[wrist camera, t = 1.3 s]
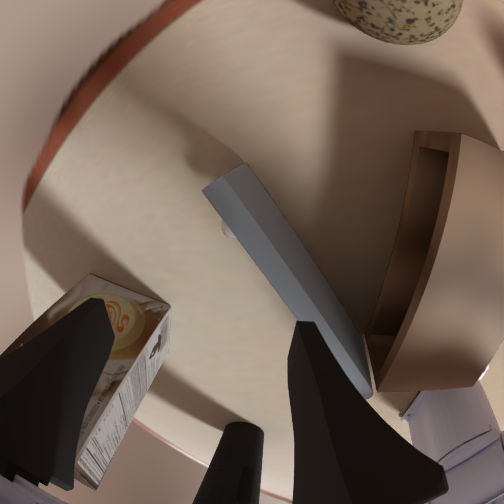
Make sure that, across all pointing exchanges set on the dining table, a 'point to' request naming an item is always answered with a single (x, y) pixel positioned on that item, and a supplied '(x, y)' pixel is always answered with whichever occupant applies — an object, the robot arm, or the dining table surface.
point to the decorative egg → (401, 18)
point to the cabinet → (443, 270)
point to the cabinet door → (288, 266)
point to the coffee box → (112, 367)
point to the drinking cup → (234, 467)
